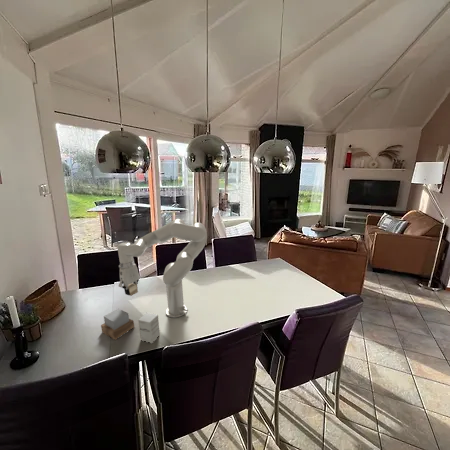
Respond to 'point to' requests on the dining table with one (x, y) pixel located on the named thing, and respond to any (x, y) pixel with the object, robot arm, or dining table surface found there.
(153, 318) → the supplement box
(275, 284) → the dining table surface
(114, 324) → the top block
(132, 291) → the ash cube
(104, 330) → the base block
